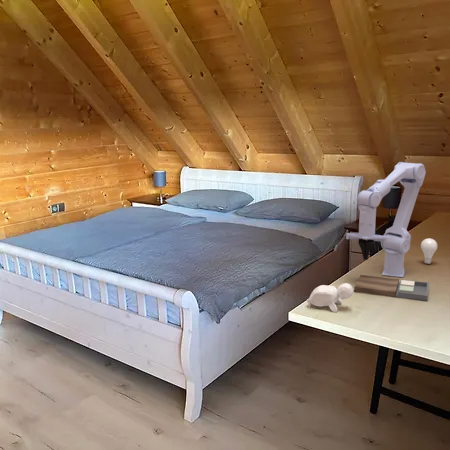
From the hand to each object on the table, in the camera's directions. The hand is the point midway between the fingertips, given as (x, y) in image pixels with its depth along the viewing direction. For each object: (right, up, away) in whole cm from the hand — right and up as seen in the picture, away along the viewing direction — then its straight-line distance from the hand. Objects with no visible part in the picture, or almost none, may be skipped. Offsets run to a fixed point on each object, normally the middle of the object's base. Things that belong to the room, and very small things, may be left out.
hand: (365, 259), depth 178 cm
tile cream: (+14, -10, -5) cm, 18 cm away
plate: (+3, -10, -3) cm, 11 cm away
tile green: (+11, -11, -10) cm, 19 cm away
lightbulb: (+33, -4, +23) cm, 40 cm away
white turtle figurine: (-17, -15, -19) cm, 30 cm away
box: (+14, -11, -8) cm, 20 cm away
